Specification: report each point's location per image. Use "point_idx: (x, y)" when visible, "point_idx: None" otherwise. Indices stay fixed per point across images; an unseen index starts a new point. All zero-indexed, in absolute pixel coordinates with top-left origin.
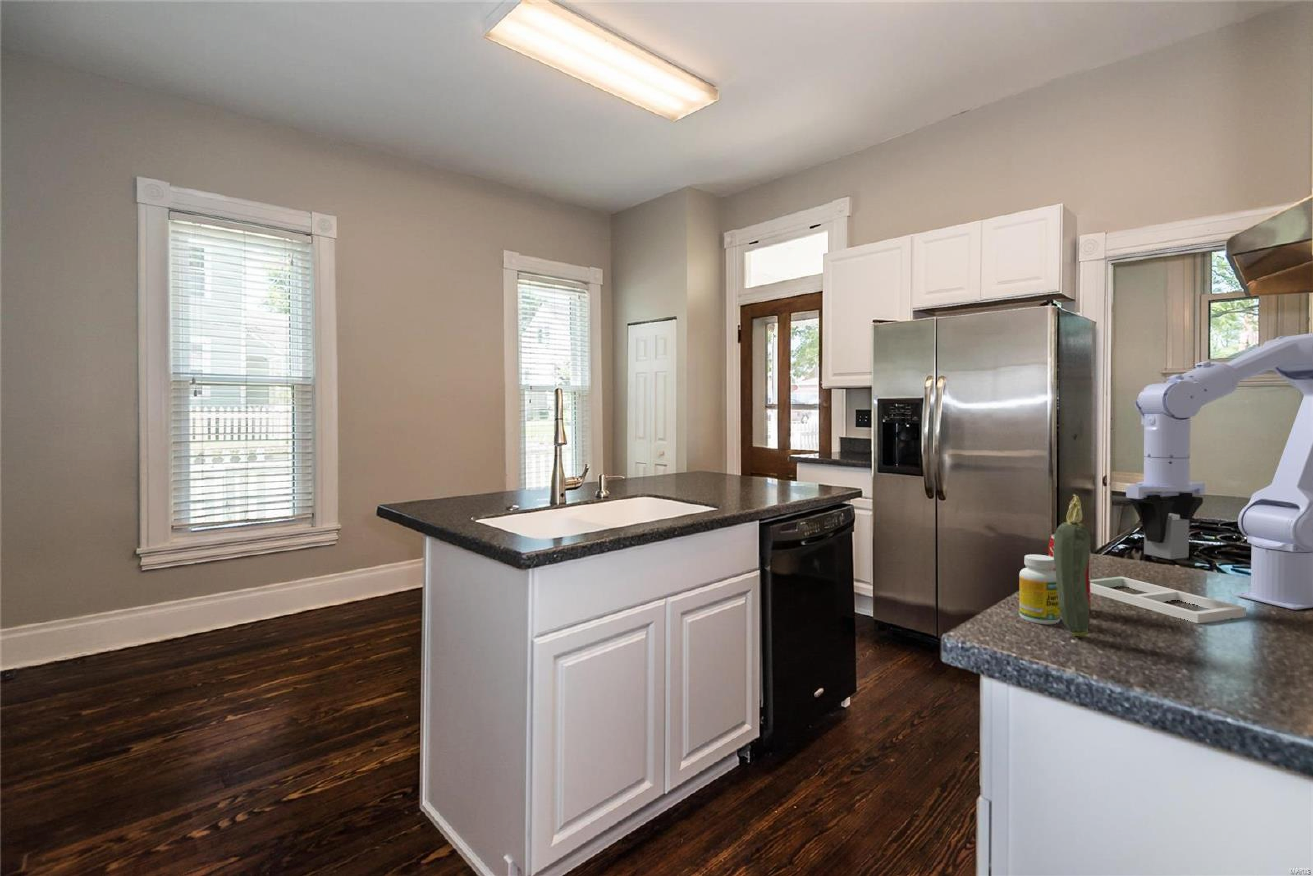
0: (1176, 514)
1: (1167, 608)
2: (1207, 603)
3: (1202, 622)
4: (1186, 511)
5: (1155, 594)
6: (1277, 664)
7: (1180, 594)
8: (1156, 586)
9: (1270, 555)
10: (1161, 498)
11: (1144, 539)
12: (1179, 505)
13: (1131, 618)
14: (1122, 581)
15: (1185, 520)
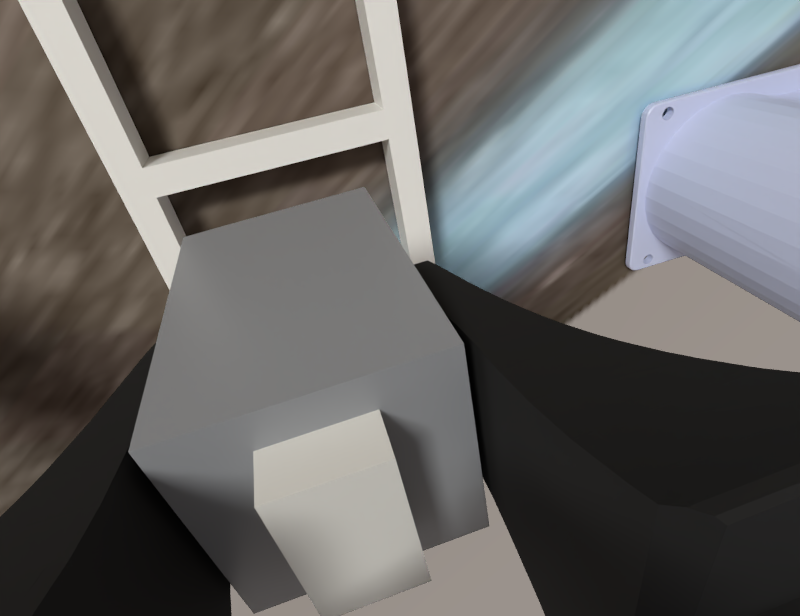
0: (418, 571)
1: None
2: (404, 246)
3: None
4: (537, 578)
5: (256, 170)
6: None
7: (389, 153)
8: (374, 30)
9: (790, 281)
10: (631, 545)
11: (170, 294)
12: (565, 608)
13: (11, 341)
14: None
15: (440, 542)
